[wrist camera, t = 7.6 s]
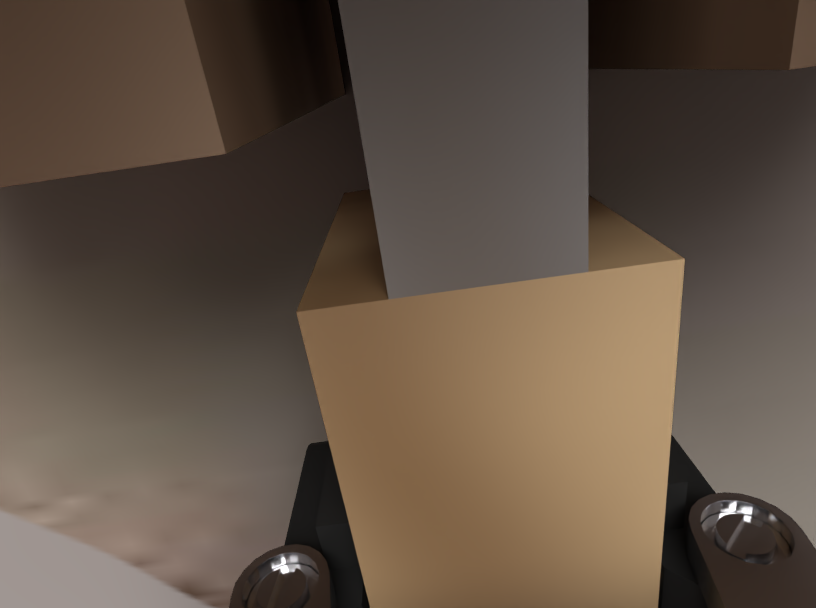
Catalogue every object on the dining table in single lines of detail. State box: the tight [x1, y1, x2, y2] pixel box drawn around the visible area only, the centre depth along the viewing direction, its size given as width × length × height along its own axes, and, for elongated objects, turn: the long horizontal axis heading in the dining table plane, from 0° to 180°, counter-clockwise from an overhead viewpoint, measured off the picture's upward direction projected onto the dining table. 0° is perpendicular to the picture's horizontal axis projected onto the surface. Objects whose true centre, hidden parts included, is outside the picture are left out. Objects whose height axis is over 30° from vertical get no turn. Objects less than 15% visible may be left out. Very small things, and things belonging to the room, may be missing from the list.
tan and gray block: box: [296, 0, 685, 608], centre depth 8 cm, size 4×14×5 cm, turn 8°
